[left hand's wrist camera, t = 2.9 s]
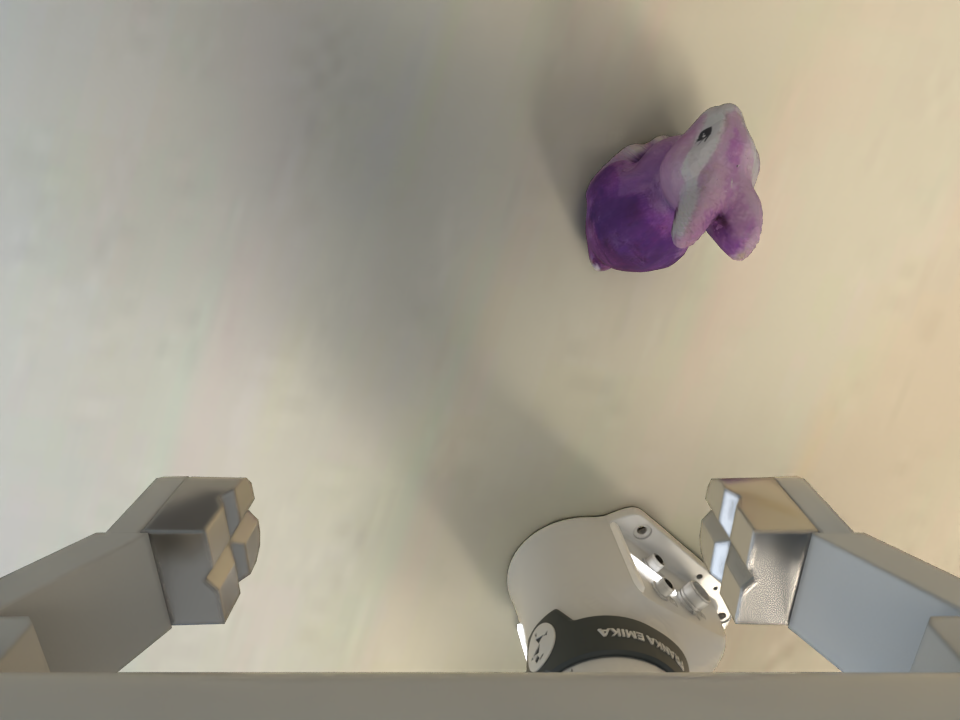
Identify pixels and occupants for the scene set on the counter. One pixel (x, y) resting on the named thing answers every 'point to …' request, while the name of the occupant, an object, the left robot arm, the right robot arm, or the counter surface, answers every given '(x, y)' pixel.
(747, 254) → the figurine
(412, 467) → the counter surface
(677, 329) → the counter surface
